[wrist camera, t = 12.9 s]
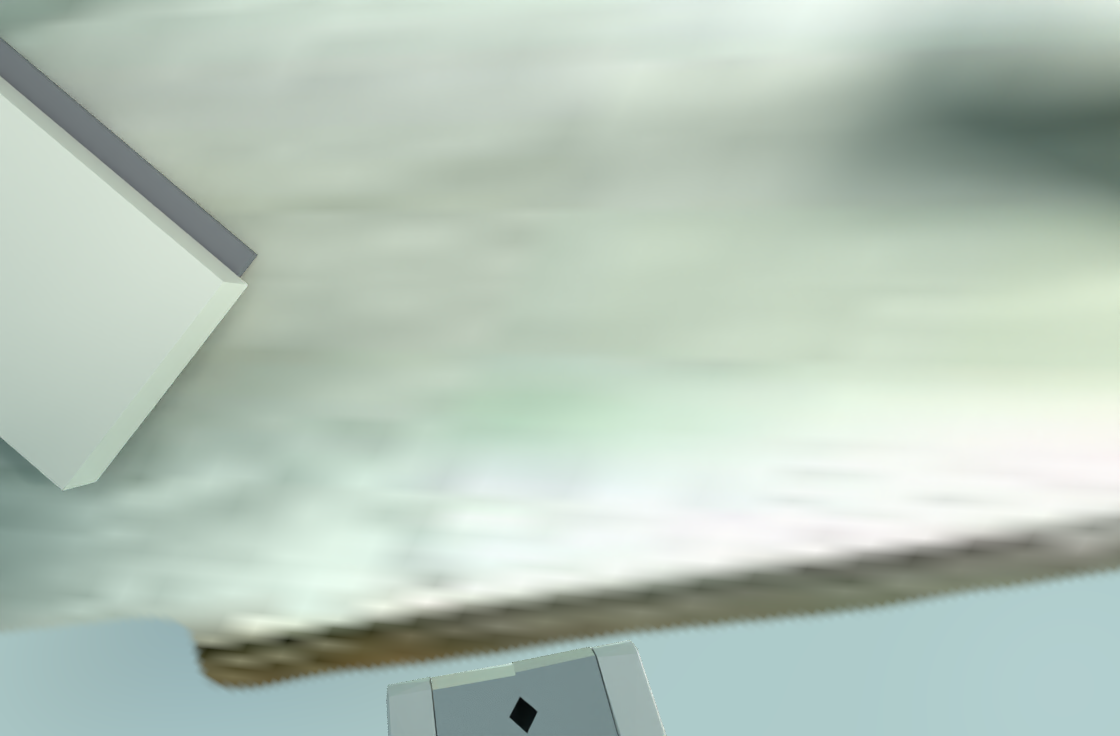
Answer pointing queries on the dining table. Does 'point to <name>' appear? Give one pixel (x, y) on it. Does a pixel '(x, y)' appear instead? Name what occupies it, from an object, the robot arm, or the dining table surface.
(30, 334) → the tile
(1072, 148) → the dining table surface
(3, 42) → the mat
